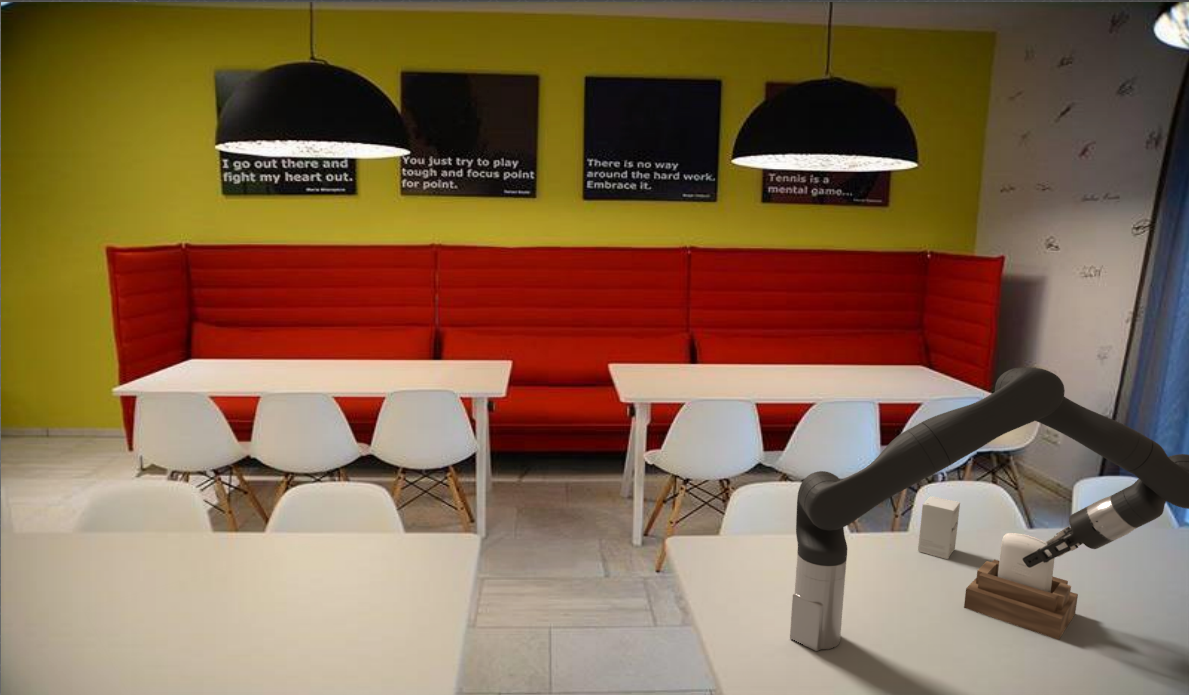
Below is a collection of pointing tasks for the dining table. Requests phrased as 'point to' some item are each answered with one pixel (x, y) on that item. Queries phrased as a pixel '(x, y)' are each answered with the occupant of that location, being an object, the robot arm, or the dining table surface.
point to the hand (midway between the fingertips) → (1033, 557)
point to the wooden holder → (1022, 602)
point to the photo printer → (1014, 566)
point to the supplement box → (938, 527)
